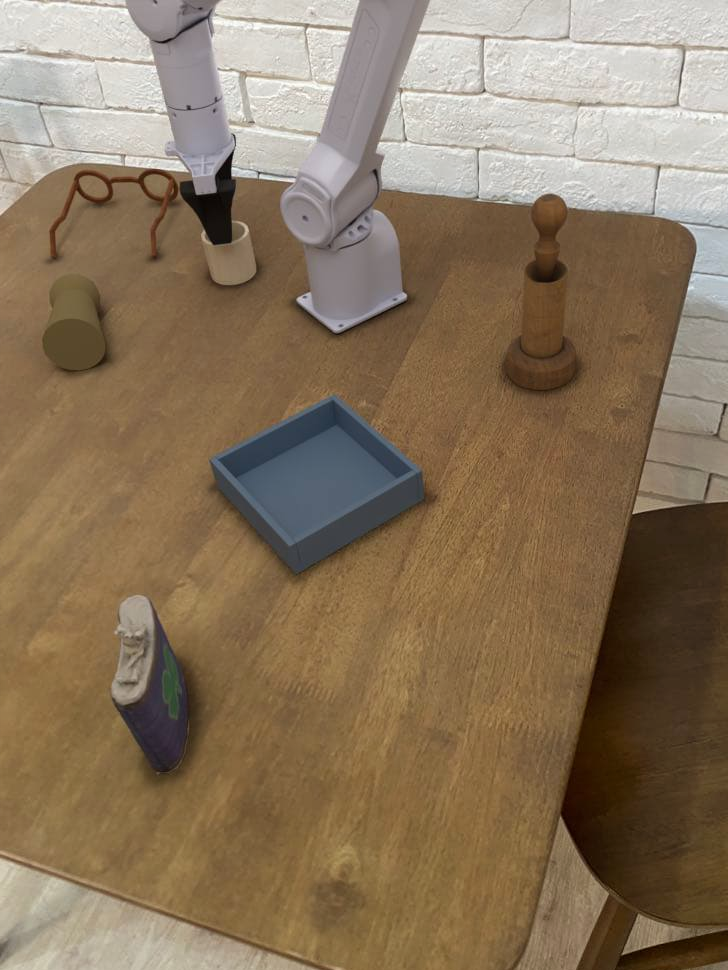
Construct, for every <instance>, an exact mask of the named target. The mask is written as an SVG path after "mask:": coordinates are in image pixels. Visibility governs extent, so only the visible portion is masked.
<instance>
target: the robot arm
mask: <svg viewBox="0 0 728 970" xmlns="http://www.w3.org/2000/svg"><path fill="white" fill-rule="evenodd" d="M124 1H125V6H126V9H127V12H128V14H129V15H130V16H129V17H130V18H131V20H132V22H133V24H134V25H135V26H136V27H137V29H138V30H139V31H140V32H141V33H142V34H143V35H145V36H146V37H147V38H148V40H149V45H150V48H151V49H150V50H151V54H152V56H153V62H154V65H155V68H156V73H157V77H158V80H159V85H160V89H161V92H162V97H163V101H164V104H165V108H166V112H167V116H168V120H169V125H170V128H171V132H172V136H173V140H169V141H167V142H165V143H164V152H165V153H164V154H165V156H167V157H177V159H178V160H179V161H180V162H181V164H182V165H183V166H184V167H185V169H186V170H187V172H189V174H190V175H191V178H192V179H191V180H184V181H182V180H181V181H180V182H179V187H178V189H179V194H180V196H181V199H182V200H183V201H184V202H185V203H186V204H187V205H188V206H189V207H190V208H191V209H192V211H193V212H194V213H195V215H196V216H197V218H198V220H199V221H200V224H201V226H202V228H203V230H205V232H206V234H207V236H208V238H209V240H210V241H211V243H212V245H221V244H229V243H232V221H233V219H232V218H233V217H232V207H233V200H234V196H235V194H236V189H237V178H233V175H232V169H233V159H234V154H235V151H236V147H237V138H236V135H235V133H232V132H231V128H230V127H231V126H230V123H229V118H228V113H227V107H226V102H225V98H224V92H223V89H222V84H221V79H220V74H219V69H218V64H217V59H216V54H215V53H216V52H215V49H214V44H213V40H212V39H213V37H214V34H215V27H214V23H213V17H214V13H215V12H216V9H217V6H218V4H219V3H221V2H222V1H223V0H124ZM430 1H431V0H358V4H357V7H356V10H355V14H354V17H353V20H352V25H351V26H350V27H351V28H350V31H349V35H348V37H347V42H346V45H345V49H344V51H343V55H342V59H341V62H340V66H339V69H338V72H337V76H336V78H335V79H336V80H335V83H334V86H333V90H332V92H331V96H330V98H329V99H330V100H329V102H328V106H327V110H326V113H325V117H324V121H323V124H322V126H321V130H320V134H319V137H318V140H317V142H316V144H315V146H314V147H313V148H312V150H311V151H310V153H309V154H308V156H306V158H305V160H304V162H303V163H302V165H300V167H299V169H298V171H297V175H296V178H295V180H294V182H293V183H292V184H291V185H290V186H288V187H287V188H286V189H285V190H284V191H283V193H282V194H281V197H280V202H279V208H280V213H281V217H282V220H283V222H284V224H285V226H286V228H287V229H288V231H289V232H290V233H291V234H292V235H293V236H294V237H295V238H296V239H297V241H298V243H300V244H302V248H303V254H304V259H305V260H304V261H305V266H306V272H307V278H308V285H309V290H310V291H309V292H307V293H304V294H302V295H300V296H298V297H297V298H296V303H297V305H299V306H300V308H302V309H304V310H305V311H306V312H308V313H309V314H310V315H311V316H313V317H314V318H315V319H316V320H317V321H318V322H320V323H321V324H322V325H324V326H325V327H326V328H327V329H329V330H330V331H331V332H332V333H335V334H340V333H342V332H345V331H346V330H348V329H351V328H354V327H355V326H357V325H360V324H361V323H363V322H365V321H367V320H369V319H371V318H373V317H375V316H377V315H379V314H381V313H383V312H386V311H388V310H389V309H392V308H393V307H396V306H397V305H399V304H401V303H403V302H406V301H407V300H408V294H407V293H405V292H404V291H403V278H402V264H401V252H400V251H401V250H400V242H399V239H398V235H397V233H396V229H395V228H394V226H393V224H392V222H391V221H390V220H389V218H388V217H387V216H386V215H385V214H384V213H383V212H381V211H379V210H377V209H373V208H374V207H373V205H374V204H375V203H376V202H377V201H378V199H379V198H380V197H381V194H382V190H383V179H382V166H383V162H384V160H385V153H384V152H383V150H382V149H381V148H380V147H379V144H380V141H381V138H382V136H383V133H384V130H385V127H386V124H387V122H388V120H389V116H390V113H391V110H392V107H393V104H394V103H395V99H396V96H397V94H398V91H399V89H400V85H401V83H402V80H403V77H404V74H405V71H406V68H407V66H408V63H409V60H410V57H411V55H412V52H413V49H414V47H415V44H416V41H417V38H418V35H419V33H420V29H421V27H422V24H423V21H424V19H425V16H426V13H427V10H428V8H429V5H430Z"/></svg>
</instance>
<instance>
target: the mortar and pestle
mask: <svg viewBox="0 0 728 970" xmlns="http://www.w3.org/2000/svg"><path fill="white" fill-rule="evenodd" d="M530 215H531V216H530V217H531V221H532V223H533V225H534V226H535V229H536V230H537V232H538V240H537V241H536V242H535V243H534V245H533V251H534V253H533V254H534V257H535V259H534V260H531V261H529V262H528V263H527V264H526V265H525V266H524V269H523V293H522V294H523V295H522V296H523V298H522V321H521V334H520V335H518V336H516V337H515V338H514V339H513V340H512V341H510V343H509V344H508V347H507V352H506V366H505V368H506V369H505V370H506V374H507V376H508V378H509V379H510V380H511V381H512V382H513V383H514V384H515V385H517V386H519V387H521V388H523V389H527V390H533V391H548V390H549V391H550V390H553V389H557V388H560V387H562V386H564V385H565V384H567V383H568V382H569V381H570V380H571V379H572V378H573V376H574V374H575V371H576V361H577V358H576V357H577V349H576V346H575V344H574V342H573V341H572V340H571V339H569V338H568V337H567V336H566V335H564V329H565V328H564V326H565V314H566V301H567V300H566V299H567V289H568V288H567V287H568V276H569V269H568V266H567V264H566V263H565V262H563V261H562V260H559V259H558V258H559V255H560V252H561V248H562V245H561V244H560V242H558V241H557V235H558V232H559V231H560V230H561V229H562V227H563V226H564V224H565V222H566V220H567V217H568V206H567V204H566V202H565V200H564V198H562V196H561V195H558V194H555V193H545V194H542V195H539V197H538V198H536V200H535V201H534V202H533V204H532V206H531V211H530Z"/></svg>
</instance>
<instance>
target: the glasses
mask: <svg viewBox="0 0 728 970" xmlns="http://www.w3.org/2000/svg"><path fill="white" fill-rule="evenodd" d="M151 175H158V176H162V177H163V178H166V179H167V180H168V185H167V188H166V191H165V195H164V196H159V195H156V194H154V193H153V192H151V191H150V190H149V189H148V187H147V185H146V184H145V179H146V178H147V177H149V176H151ZM89 176H91V177H95V178H98V179H99V180H101V181H102V182H103V183H104V184H105V186H106V188H107V193H108V194H107V195H105V196H102V197H96V196H91V195H89V194H88V193H86V192H85V191H84V190H83V188H82V187H81V184H80V179H81V178H83V177H89ZM118 183H119V184H120V183H122V184H123V183H132V184H133V183H134V184H138V185H139V187H140V189H141V191H142V192H143V193H144V194H145V196H146V197H147V198H149V199H150V200H151V201H152V200H153V201H155V202H159V203H162V204H161V208H160V212H159V214H158V215H157V216H156V218H154V220H153V223H152V225H151V227H150V229H149V232H150V248H151V257H152V258H158V251H157V233H156V232H157V229H158V228H159V225H160V223H161V222H162V221H163V220H164V218H165V216H166V213H167V212H166V211H167V209H168V206H169V202H172V201H174V200H176V199H177V197H178V194H179V192H180V190H179V185H178V182H177V180H176V179H175V177H174V176H173V175H172V174H171V173H169V172H168V171H166V170H164V169H161V168H160V169H159V168H148V169H145V170H143V171H142V172H141V173H140V174H139V176H138V178H137V177H135V176H112V177H111V178H109V177H108V176H106V175H105V174H103V173H101V172H100V171H96V170H93V169H84V170H79V171H77V173H76V174H75V176H74V178H73V182H72V185H71V187H70V190H69V191H68V192H69V193H68V196H67V198H66V200H65V204H64V206H63V208H62V211H61V214H60V215H59V216H58V218H56V219H55V220H54V221H53V224H52V225H51V227H50V229H49V249H50V250H49V251H50V258H52V259H57V243H56V242H57V241H56V240H57V239H56V232H57V230H58V228H59V227H60V225H61V224H62V223H64V221H66V219H67V216H68V214H69V211H70V208H71V206H72V204H73V201H74V198H75V195H76V192H77V193H78V194H79V195H80V197H82V198H83V199H84V200H86V201H88V202H90V203H91V202H92V203H96V204H105V203H108V202H110V201H111V200H112V199H113V196H114V187H113V184H118Z"/></svg>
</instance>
